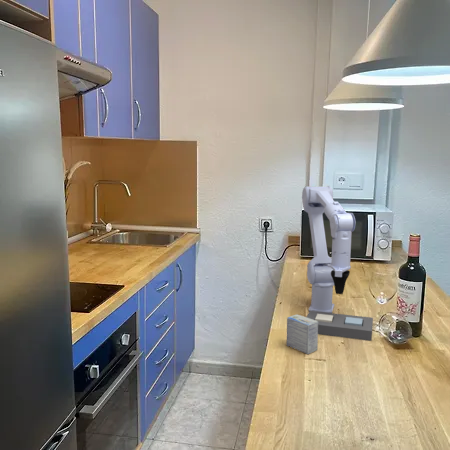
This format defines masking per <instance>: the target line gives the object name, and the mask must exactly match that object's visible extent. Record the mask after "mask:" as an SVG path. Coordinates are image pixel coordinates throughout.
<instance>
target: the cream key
mask: <svg viewBox="0 0 450 450" xmlns="http://www.w3.org/2000/svg"><path fill="white" fill-rule="evenodd" d="M315 320H316V321H322V322H331V323H332V322H333V315H325V314H317V316H316V318H315Z"/></svg>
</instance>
